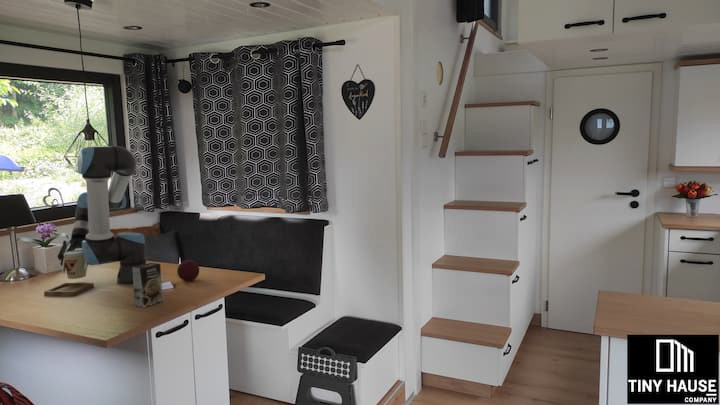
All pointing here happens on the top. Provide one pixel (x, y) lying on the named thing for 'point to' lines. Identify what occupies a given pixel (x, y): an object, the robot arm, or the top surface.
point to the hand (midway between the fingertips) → (74, 270)
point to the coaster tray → (69, 289)
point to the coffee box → (147, 284)
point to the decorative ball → (188, 270)
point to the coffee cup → (75, 264)
